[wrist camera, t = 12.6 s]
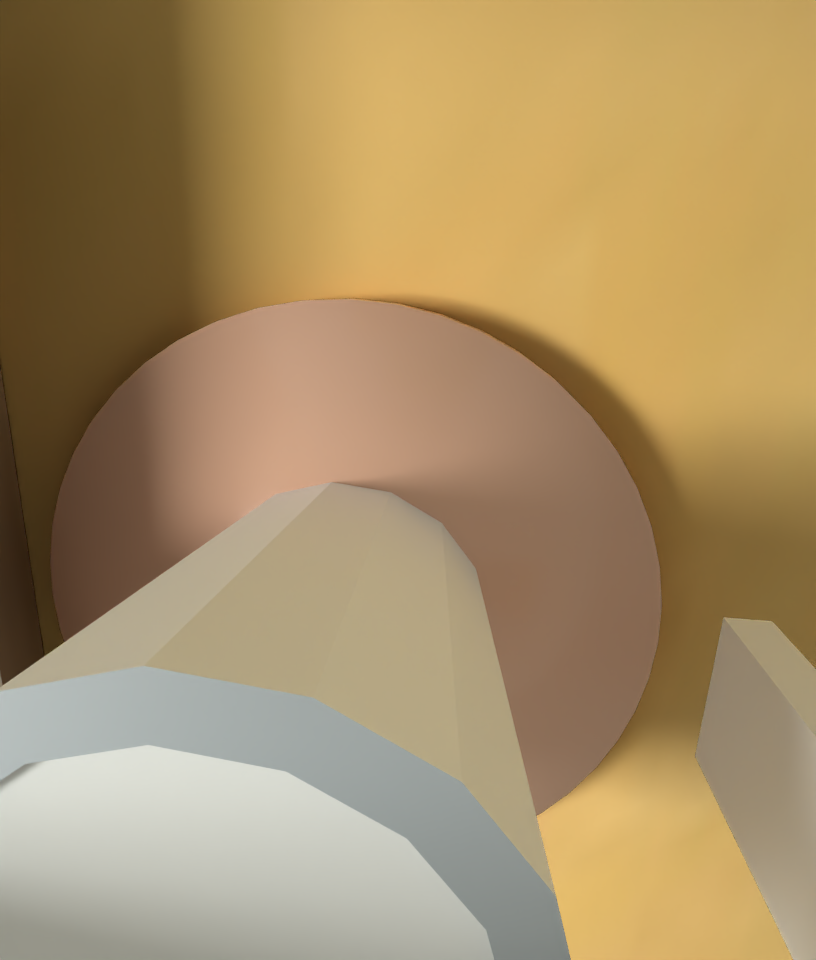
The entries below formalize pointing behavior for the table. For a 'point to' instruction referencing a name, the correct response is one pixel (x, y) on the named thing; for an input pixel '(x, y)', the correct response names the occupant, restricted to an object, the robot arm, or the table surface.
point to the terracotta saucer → (392, 468)
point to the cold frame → (14, 569)
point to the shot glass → (277, 758)
